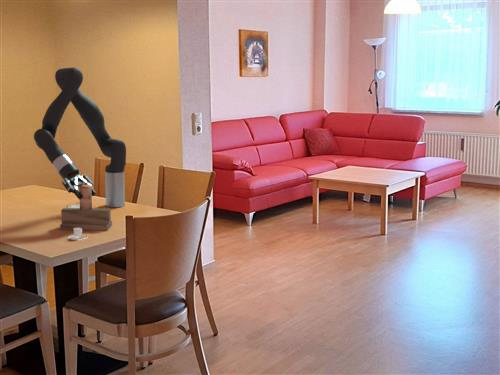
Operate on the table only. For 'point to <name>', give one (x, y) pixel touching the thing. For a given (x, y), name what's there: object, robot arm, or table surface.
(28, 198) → the table surface
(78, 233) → the teacup and saucer
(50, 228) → the table surface
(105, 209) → the ridge
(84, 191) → the pink domed cylinder
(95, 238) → the table surface
